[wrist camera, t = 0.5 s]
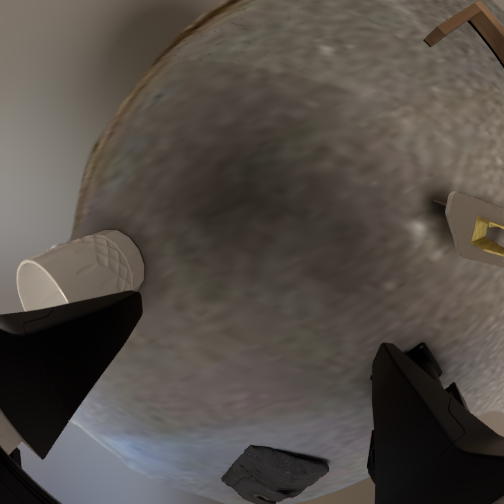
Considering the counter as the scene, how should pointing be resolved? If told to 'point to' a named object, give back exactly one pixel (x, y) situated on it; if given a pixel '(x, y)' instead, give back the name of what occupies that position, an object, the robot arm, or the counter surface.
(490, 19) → the frame
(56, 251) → the white cup
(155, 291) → the counter surface
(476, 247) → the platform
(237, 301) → the counter surface
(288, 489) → the dark slate chunk
